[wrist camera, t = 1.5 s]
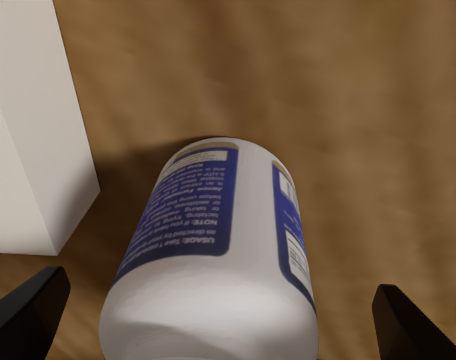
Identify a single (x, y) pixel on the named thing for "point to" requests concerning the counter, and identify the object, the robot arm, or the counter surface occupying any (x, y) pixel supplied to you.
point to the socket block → (39, 135)
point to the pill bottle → (215, 264)
